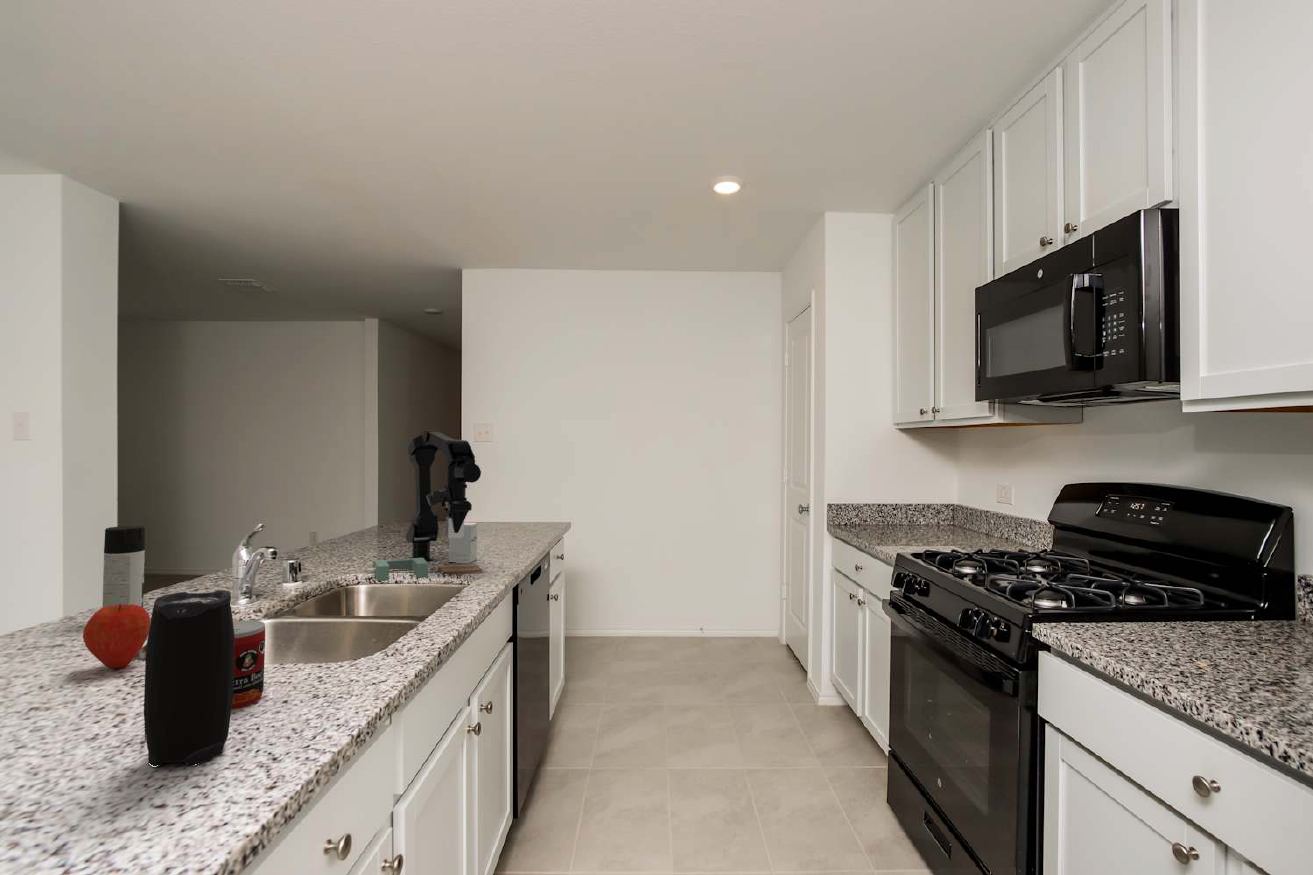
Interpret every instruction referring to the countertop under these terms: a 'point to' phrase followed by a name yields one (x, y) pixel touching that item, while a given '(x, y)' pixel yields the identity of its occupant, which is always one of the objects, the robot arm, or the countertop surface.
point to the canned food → (248, 662)
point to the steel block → (450, 529)
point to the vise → (398, 567)
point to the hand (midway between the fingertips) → (454, 531)
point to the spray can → (124, 566)
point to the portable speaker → (189, 677)
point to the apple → (117, 634)
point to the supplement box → (464, 545)
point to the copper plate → (460, 568)
